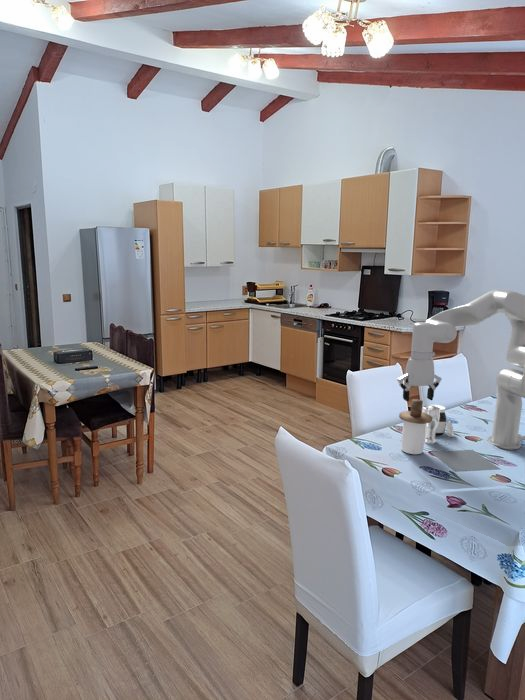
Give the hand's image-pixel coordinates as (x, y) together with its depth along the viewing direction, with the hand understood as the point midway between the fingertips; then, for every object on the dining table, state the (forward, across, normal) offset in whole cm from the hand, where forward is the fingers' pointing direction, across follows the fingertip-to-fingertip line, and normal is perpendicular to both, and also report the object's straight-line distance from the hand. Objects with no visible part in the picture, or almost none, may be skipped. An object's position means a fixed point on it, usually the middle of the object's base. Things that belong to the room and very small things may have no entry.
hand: (417, 399), depth 196 cm
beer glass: (+22, -11, -10) cm, 26 cm away
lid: (+7, 0, 0) cm, 7 cm away
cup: (+22, +1, 0) cm, 22 cm away
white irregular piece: (+22, -21, -19) cm, 36 cm away
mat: (+22, -15, +10) cm, 28 cm away
